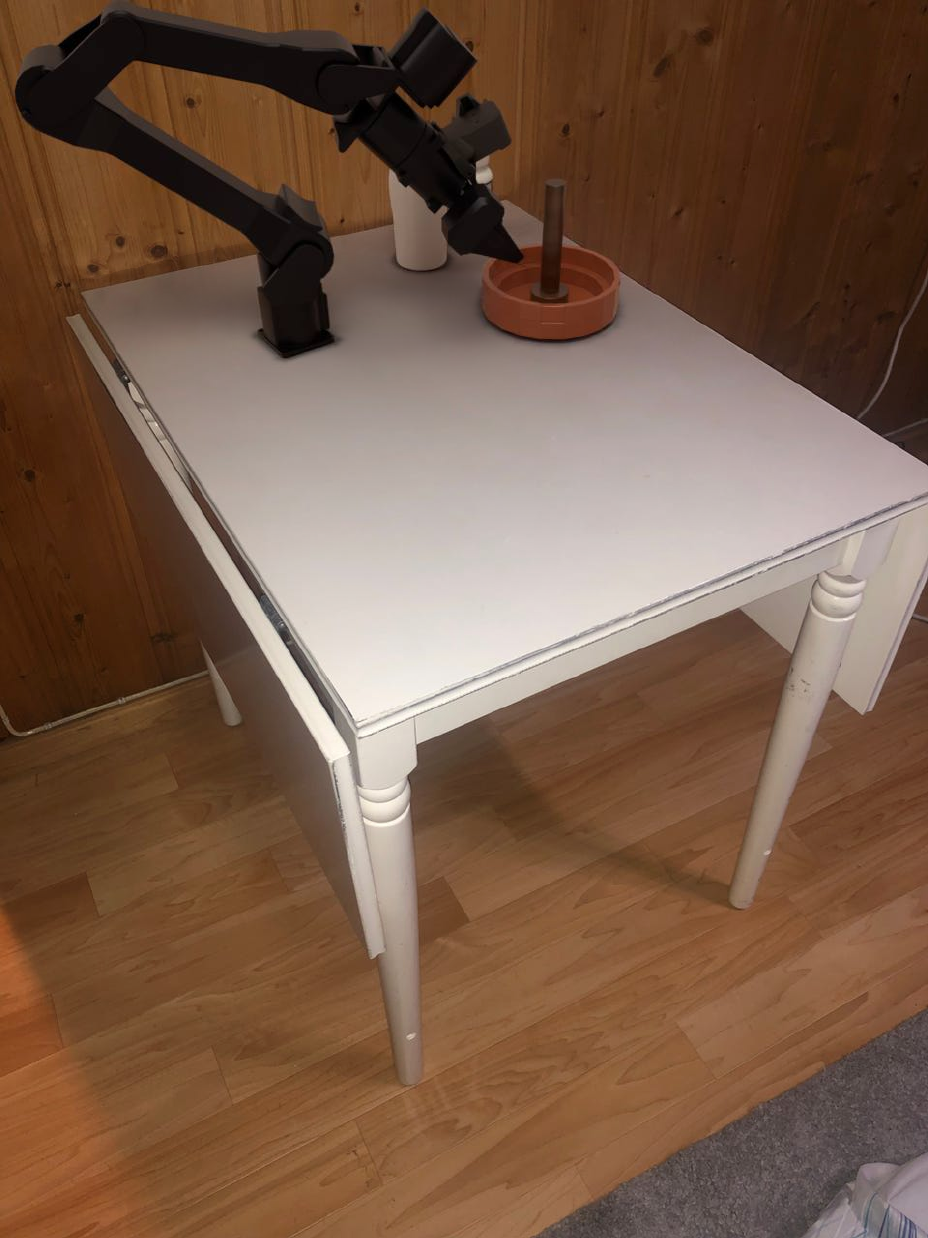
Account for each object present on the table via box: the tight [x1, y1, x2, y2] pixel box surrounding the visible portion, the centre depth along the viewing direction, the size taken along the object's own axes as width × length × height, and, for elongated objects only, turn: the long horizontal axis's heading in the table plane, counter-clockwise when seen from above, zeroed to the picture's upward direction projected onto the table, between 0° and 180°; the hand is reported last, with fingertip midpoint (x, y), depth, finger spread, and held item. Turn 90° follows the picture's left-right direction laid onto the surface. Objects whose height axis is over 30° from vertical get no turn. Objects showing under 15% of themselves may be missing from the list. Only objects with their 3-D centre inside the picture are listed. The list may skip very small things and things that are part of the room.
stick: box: [530, 178, 569, 304], centre depth 112 cm, size 4×4×14 cm
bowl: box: [481, 243, 622, 340], centre depth 116 cm, size 15×15×4 cm
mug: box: [388, 168, 448, 272], centre depth 123 cm, size 10×7×12 cm, turn 34°
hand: (509, 241), depth 110 cm, fingers open, 9 cm apart
